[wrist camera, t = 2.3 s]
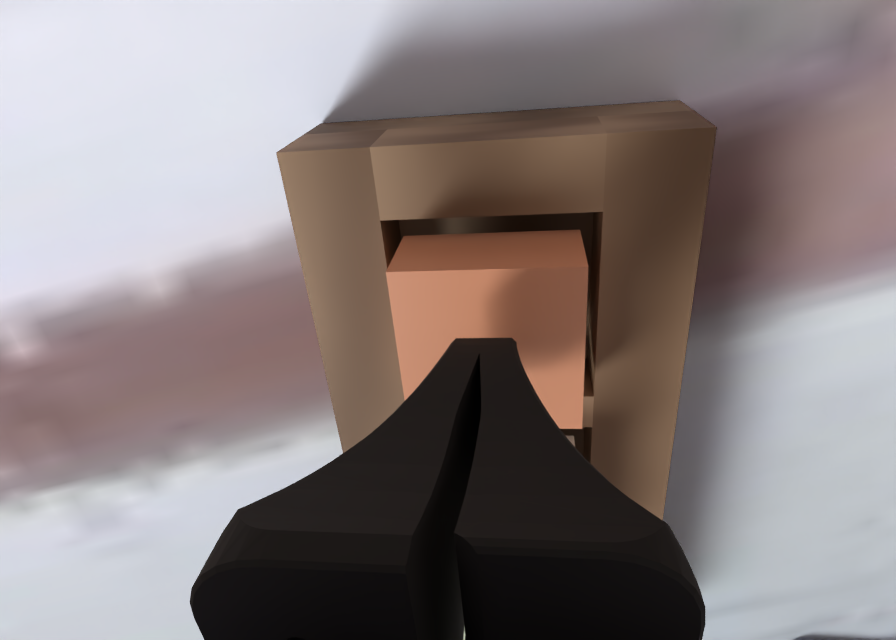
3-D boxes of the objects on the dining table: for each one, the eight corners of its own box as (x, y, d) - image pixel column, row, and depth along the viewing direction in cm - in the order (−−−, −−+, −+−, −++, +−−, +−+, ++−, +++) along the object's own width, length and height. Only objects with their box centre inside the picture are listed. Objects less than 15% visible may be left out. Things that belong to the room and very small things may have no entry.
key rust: (580, 229, 14) (588, 266, 12) (575, 377, 16) (582, 428, 14) (403, 235, 15) (385, 272, 13) (421, 377, 17) (408, 426, 15)
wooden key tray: (679, 100, 16) (716, 127, 13) (625, 614, 26) (638, 696, 23) (320, 123, 17) (276, 152, 14) (407, 602, 28) (393, 678, 25)
